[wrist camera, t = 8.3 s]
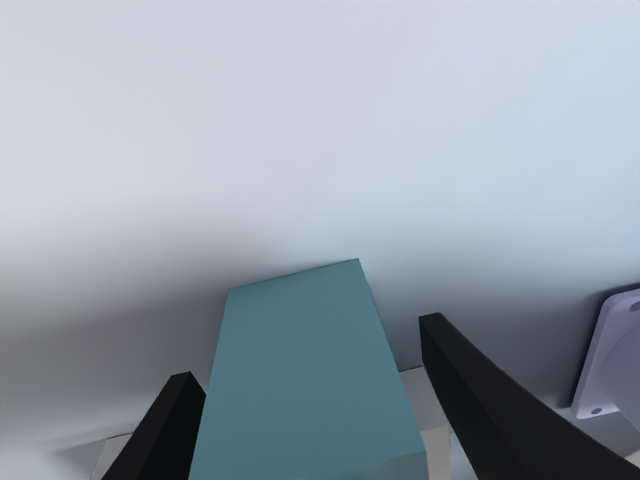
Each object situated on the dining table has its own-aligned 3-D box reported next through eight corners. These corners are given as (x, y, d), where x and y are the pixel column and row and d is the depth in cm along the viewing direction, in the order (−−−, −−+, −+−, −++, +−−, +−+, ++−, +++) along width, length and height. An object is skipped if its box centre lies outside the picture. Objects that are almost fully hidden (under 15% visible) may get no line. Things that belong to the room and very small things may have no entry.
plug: (358, 258, 11) (457, 538, 5) (375, 346, 13) (458, 613, 7) (228, 289, 11) (161, 601, 5) (268, 371, 13) (256, 655, 7)
